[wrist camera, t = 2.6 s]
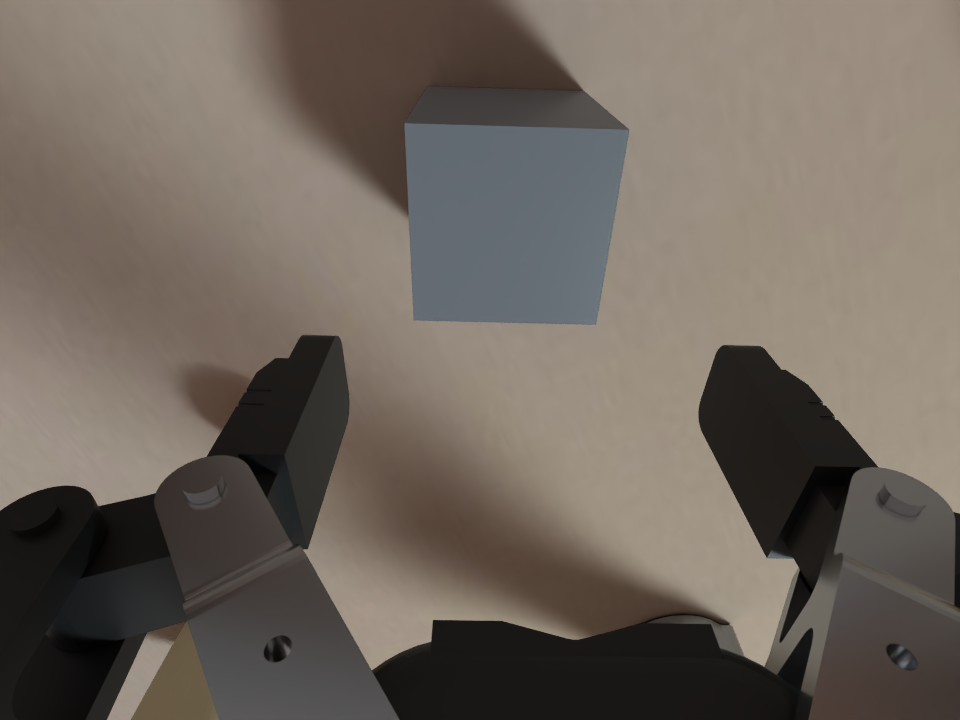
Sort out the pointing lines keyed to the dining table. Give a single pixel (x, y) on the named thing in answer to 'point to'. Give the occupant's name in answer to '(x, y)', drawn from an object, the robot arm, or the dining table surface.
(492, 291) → the grey upright rectangular block
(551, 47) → the dining table surface
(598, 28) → the dining table surface
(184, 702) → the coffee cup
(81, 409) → the dining table surface
